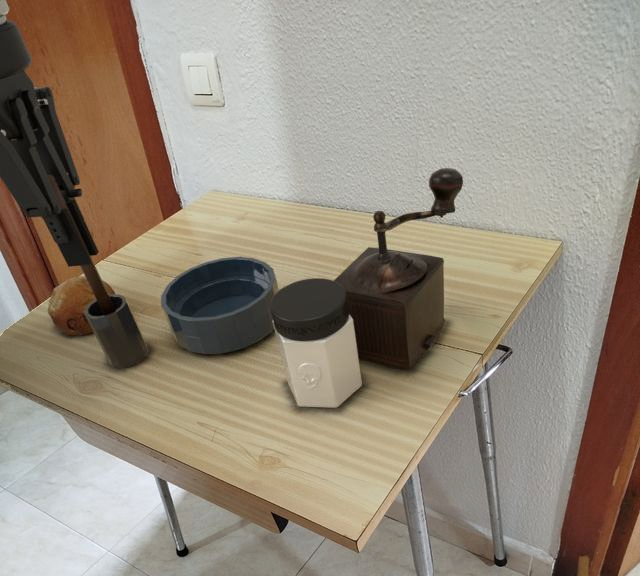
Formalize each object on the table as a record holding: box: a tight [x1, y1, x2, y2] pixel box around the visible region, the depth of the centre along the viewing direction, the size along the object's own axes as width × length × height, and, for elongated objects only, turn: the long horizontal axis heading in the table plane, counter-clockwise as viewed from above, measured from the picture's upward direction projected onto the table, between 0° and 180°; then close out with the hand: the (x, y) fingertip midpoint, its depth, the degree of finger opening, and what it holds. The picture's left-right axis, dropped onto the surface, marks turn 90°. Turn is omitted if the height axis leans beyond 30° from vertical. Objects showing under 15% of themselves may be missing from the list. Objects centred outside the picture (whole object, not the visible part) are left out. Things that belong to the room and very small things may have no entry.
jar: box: [270, 277, 363, 409], centre depth 65 cm, size 9×8×12 cm
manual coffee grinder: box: [333, 167, 464, 371], centre depth 69 cm, size 16×11×18 cm
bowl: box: [160, 256, 280, 355], centre depth 80 cm, size 15×15×6 cm
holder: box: [84, 293, 149, 369], centre depth 77 cm, size 5×6×8 cm
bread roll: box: [47, 275, 116, 336], centre depth 88 cm, size 10×10×8 cm
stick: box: [46, 173, 116, 315], centre depth 70 cm, size 2×2×20 cm
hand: (83, 259), depth 70 cm, fingers closed on stick, 1 cm apart
